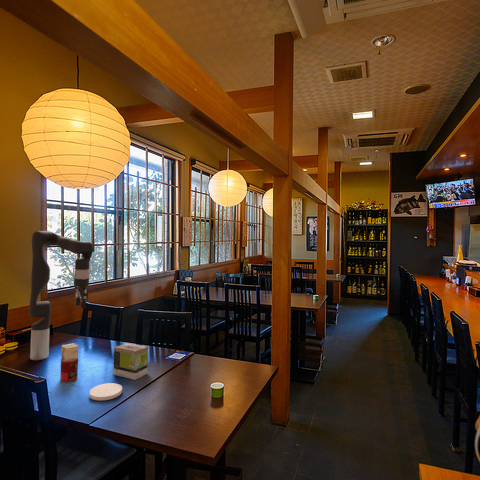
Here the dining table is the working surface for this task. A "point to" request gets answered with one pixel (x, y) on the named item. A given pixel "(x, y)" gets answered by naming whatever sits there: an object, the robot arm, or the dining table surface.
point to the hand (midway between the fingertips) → (80, 306)
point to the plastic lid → (105, 391)
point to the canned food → (69, 370)
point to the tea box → (130, 360)
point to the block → (69, 351)
